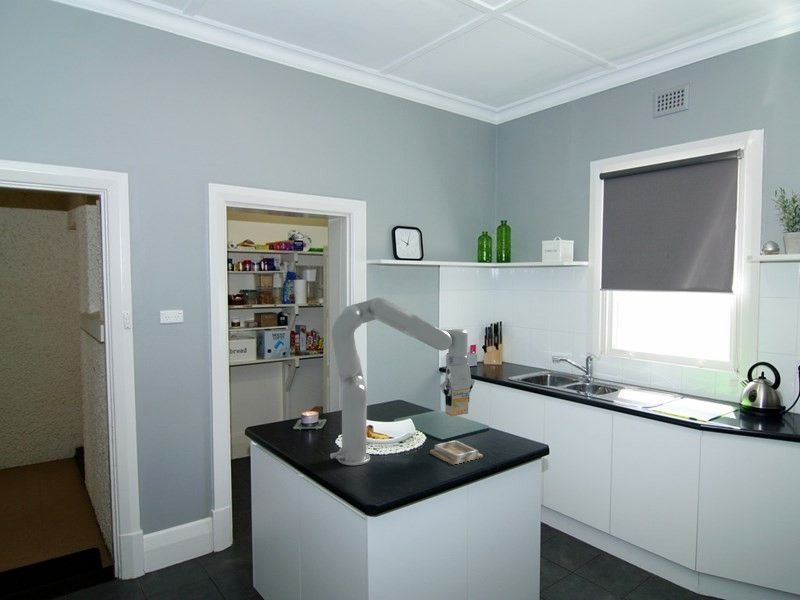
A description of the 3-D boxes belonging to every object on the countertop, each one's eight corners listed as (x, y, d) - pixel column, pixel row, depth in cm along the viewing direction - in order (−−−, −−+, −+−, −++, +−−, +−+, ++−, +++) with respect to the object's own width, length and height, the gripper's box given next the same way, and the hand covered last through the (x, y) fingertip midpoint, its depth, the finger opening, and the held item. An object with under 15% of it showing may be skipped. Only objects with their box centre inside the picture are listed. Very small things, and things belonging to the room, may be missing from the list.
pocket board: (453, 465, 191) (453, 457, 190) (430, 453, 203) (430, 445, 203) (482, 457, 199) (482, 450, 199) (458, 446, 211) (458, 438, 211)
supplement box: (451, 416, 196) (452, 383, 195) (445, 413, 200) (445, 381, 199) (468, 414, 200) (469, 381, 199) (462, 410, 204) (462, 379, 203)
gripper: (446, 364, 191) (446, 409, 192) (480, 359, 200) (480, 402, 201) (434, 361, 197) (434, 404, 198) (468, 356, 206) (467, 398, 207)
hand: (457, 403), depth 200 cm, fingers closed on supplement box, 8 cm apart
